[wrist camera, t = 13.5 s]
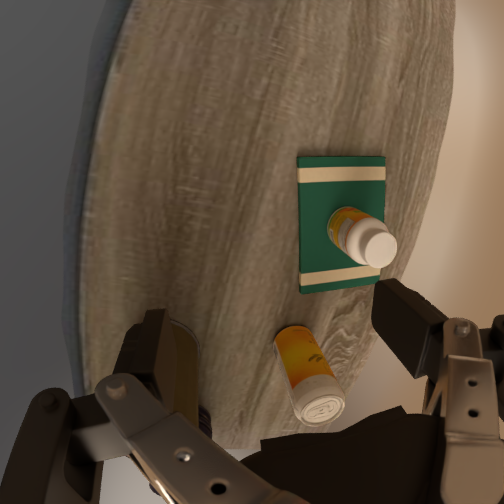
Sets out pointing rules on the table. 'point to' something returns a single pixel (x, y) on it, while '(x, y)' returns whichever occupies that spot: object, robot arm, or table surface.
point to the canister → (186, 373)
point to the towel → (324, 205)
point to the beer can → (308, 377)
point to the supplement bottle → (362, 237)
